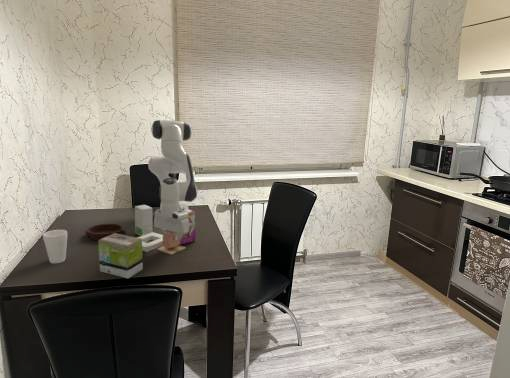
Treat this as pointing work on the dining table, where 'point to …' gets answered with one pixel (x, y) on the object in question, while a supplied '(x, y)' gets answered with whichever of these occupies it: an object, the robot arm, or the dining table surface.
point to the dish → (104, 230)
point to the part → (170, 240)
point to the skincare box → (143, 220)
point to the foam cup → (56, 245)
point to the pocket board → (154, 244)
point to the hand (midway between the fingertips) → (171, 238)
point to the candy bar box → (190, 234)
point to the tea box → (120, 255)
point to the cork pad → (171, 249)
